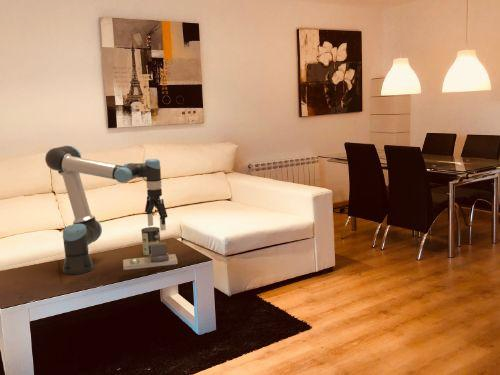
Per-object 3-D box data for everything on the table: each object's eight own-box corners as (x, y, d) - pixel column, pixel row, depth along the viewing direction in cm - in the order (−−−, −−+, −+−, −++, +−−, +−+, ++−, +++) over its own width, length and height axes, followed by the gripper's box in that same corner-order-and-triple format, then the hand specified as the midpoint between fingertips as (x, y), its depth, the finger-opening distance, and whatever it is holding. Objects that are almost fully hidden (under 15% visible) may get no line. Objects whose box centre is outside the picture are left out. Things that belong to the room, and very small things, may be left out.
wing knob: (151, 262, 267) (150, 247, 266) (148, 257, 277) (147, 243, 276) (170, 260, 270) (169, 245, 269) (167, 254, 280) (166, 240, 278)
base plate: (123, 270, 264) (122, 264, 263) (123, 263, 275) (123, 257, 275) (177, 264, 270) (177, 258, 270) (175, 257, 282) (175, 251, 281)
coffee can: (163, 250, 296) (162, 226, 294) (157, 255, 287) (155, 231, 284) (147, 250, 299) (145, 226, 296) (140, 255, 289) (138, 231, 286)
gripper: (172, 190, 260) (174, 230, 263) (149, 185, 279) (151, 222, 283) (159, 192, 255) (162, 233, 259) (137, 186, 275) (139, 225, 278)
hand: (156, 228), depth 271 cm, fingers open, 13 cm apart
